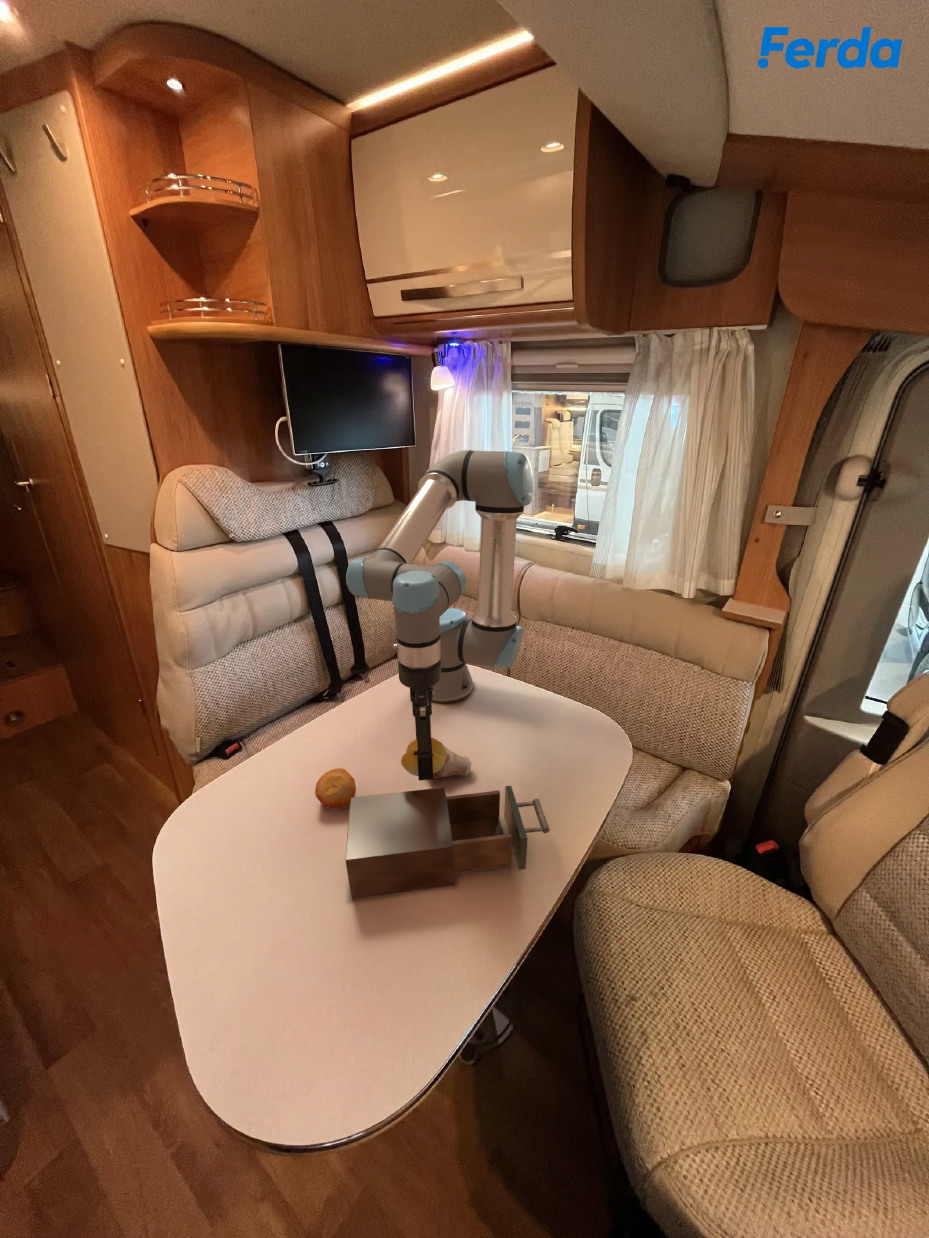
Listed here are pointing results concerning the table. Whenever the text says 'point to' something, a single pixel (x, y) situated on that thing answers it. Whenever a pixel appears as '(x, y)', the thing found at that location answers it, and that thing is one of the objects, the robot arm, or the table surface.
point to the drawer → (489, 830)
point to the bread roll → (411, 761)
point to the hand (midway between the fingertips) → (424, 760)
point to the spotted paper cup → (454, 765)
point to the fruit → (335, 788)
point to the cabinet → (399, 843)
